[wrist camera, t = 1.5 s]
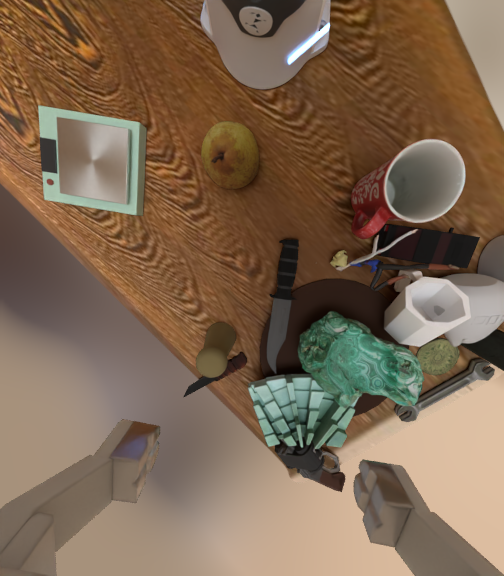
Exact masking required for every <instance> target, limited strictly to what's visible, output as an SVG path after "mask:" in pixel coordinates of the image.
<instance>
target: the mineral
mask: <svg viewBox="0 0 504 576" xmlns="http://www.w3.org/2000/svg"><path fill="white" fill-rule="evenodd" d="M298 357H299V359H300V362H301V364H302V368H303V369H304V370H305V371H306V372H308V373H311V374H312V376H313V378H314V379H315V381H316V383H317V385H318V386H320V387H321V388H322V389H323V390H324V391H325V392H327V393H329V394H331V395H333V396H334V398H335V400H336V402H337V403H338V404H339V405H340V407H343V408H345V409H346V408H348V407H349V406H350V405H352V404H353V403H354V402H355V401H356V399H357V398H358V397H359V396H362V393H369V394H371V395H383V396H386V397H388V398H390V399H391V400H393V401H395V402H396V403H397V404H399V405H402V406H414V405H415V404H416V402H417V400H418V397H419V395H420V392H421V390H422V382H423V381H424V377H423V374H422V368H421V364H420V362H419V361H418V359H417V357H416V356H415V355H413V354H412V352H411V351H409V350H408V349H406V348H405V347H403V346H400V345H395V344H394V343H392V342H389V341H386V340H383V339H380V338H377V337H375V336H374V335H372V333H371V331H370V329H369V328H367V326H365V325H364V324H363V323H360V322H359V321H356V320H352V319H346V318H344V317H343V316H342V315H341V314H339V313H337V312H334V311H330V312H329V313H328V314H327V315H326V316H324V318H322V319H320V320H319V321H317V322H314V323H312V324H311V327H310V329H307V330H306V331H305V332H303V333H302V334H301V335H300V342H299V346H298Z"/></svg>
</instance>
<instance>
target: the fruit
mask: <svg viewBox="0 0 504 576" xmlns="http://www.w3.org/2000/svg"><path fill="white" fill-rule="evenodd" d="M201 158H202V162H203V165H204V168H205V170H206V172H207V173H208V175H209V176H210V178H211V179H212V180H213V181H214V182H215V183H216V184H217V185H219V186H221V187H222V188H226V189H238V188H241V187H244V186H246V185H248V184H249V183H250V182H251V181H252V180H253V179H254V178H255V176H256V174H257V171H258V168H259V150H258V146H257V143H256V140H255V138H254V135H253V134H252V133H251V131H250V130H249V129H248V128H246V127H245V126H244V125H242V124H239V123H237V122H232V121H224V122H220V123H218V124H216V125H214V126H213V127H212V128H211V129H210V130H209V131H208V133H207V134H206V136H205V138H204V141H203V144H202V150H201Z"/></svg>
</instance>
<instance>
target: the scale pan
mask: <svg viewBox="0 0 504 576" xmlns="http://www.w3.org/2000/svg"><path fill="white" fill-rule="evenodd" d="M57 138H58V161H59V183H60V193H61V194H67V195H73V196H79V197H85V198H91V199H97V200H103V201H108V202H114V203H120V204H126V205H128V185H129V146H130V130H129V129H127V128H121V127H115V126H109V125H103V124H97V123H91V122H85V121H80V120H74V119H68V118H62V117H57Z"/></svg>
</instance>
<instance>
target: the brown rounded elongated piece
mask: <svg viewBox="0 0 504 576" xmlns="http://www.w3.org/2000/svg"><path fill="white" fill-rule="evenodd" d="M235 341H236V333H235V331H234V329H233V328H232V327H231V326H230V325H229V324H226V323H222V322H219V323H215V324H213V325H211V326H210V327H209V329H208V331H207V334H206V339H205V343H204V348H203V349H202V350H201V351H200V352H199V353H198V355H197V358H196V367H197V369H198V371H199V372H200V373H201V374H202V375H203V376H205V377H209V378H213V377H217V376H219V375H221V374H222V373H223V372H224V371H225V369H226V367H227V363H228V359H227V356H228V354H229V352H230V350H231V348H232V346H233V345H234V343H235Z"/></svg>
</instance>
